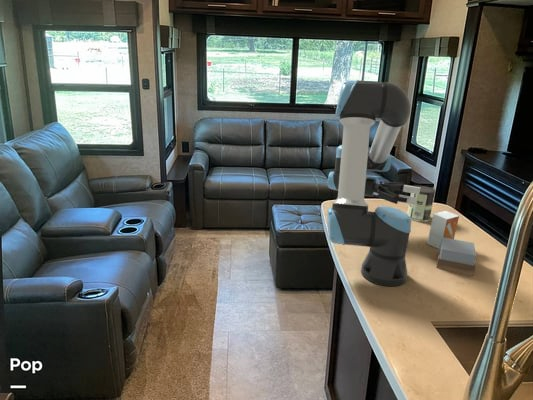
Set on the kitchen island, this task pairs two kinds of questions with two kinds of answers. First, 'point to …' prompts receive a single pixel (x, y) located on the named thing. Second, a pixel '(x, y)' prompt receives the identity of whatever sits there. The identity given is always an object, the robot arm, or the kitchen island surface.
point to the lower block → (455, 266)
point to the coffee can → (421, 204)
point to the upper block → (457, 251)
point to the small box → (442, 227)
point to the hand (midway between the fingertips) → (418, 196)
